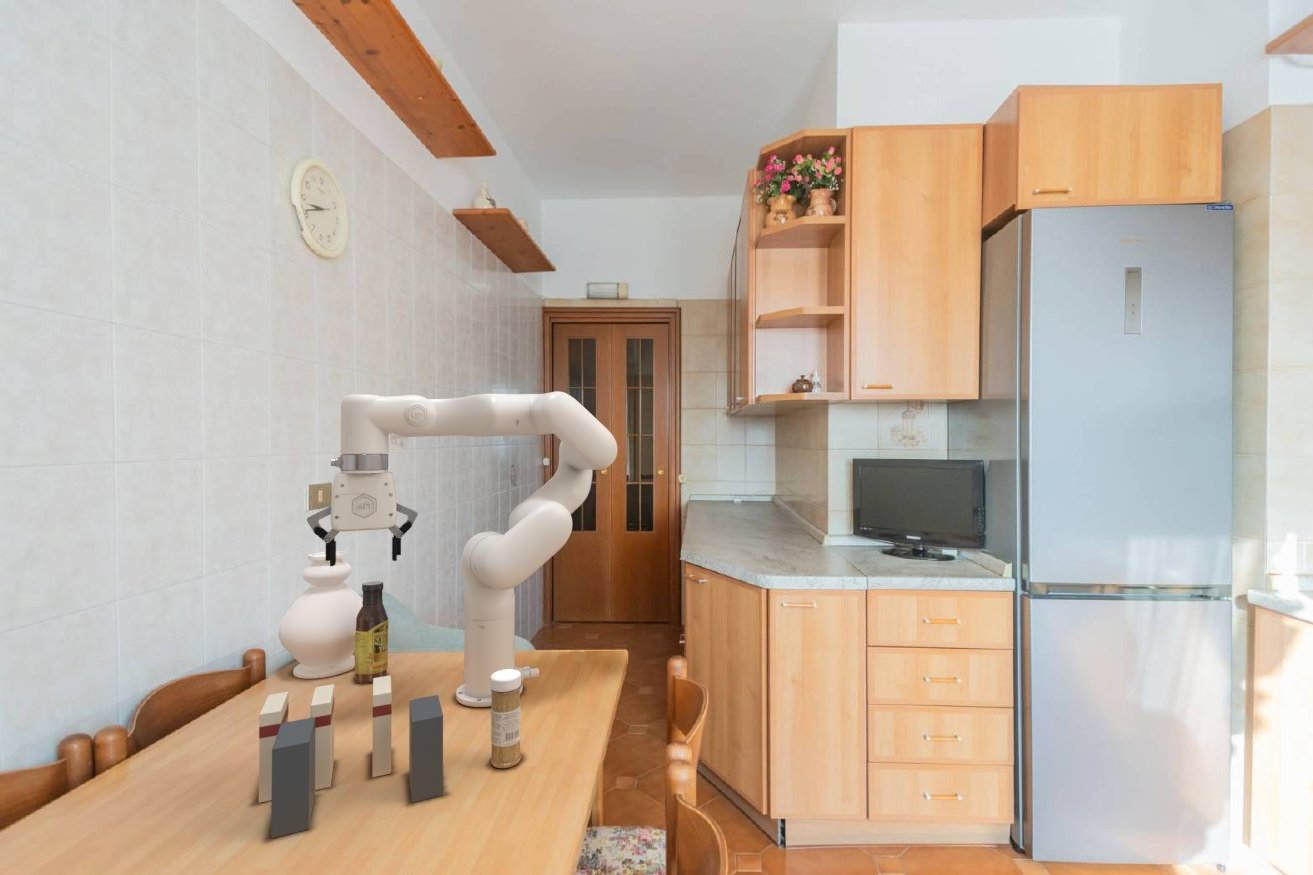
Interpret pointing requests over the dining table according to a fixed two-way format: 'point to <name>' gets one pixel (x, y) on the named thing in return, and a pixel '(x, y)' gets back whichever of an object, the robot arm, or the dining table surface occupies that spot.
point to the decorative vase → (322, 620)
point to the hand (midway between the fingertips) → (364, 562)
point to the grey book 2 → (425, 748)
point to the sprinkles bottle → (505, 718)
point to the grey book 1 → (293, 777)
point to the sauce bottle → (371, 635)
